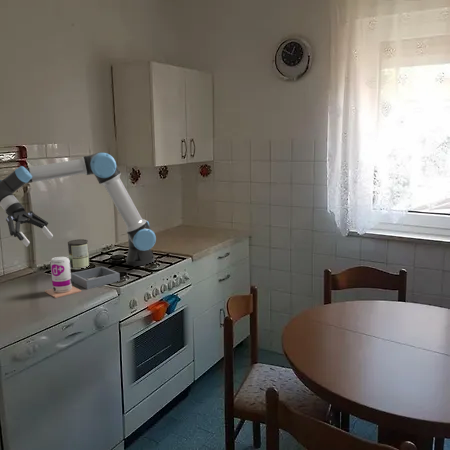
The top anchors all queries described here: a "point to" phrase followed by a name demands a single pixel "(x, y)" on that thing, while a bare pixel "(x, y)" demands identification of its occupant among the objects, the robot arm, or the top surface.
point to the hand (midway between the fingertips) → (40, 241)
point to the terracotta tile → (56, 295)
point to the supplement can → (61, 274)
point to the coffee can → (78, 253)
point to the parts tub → (108, 278)
